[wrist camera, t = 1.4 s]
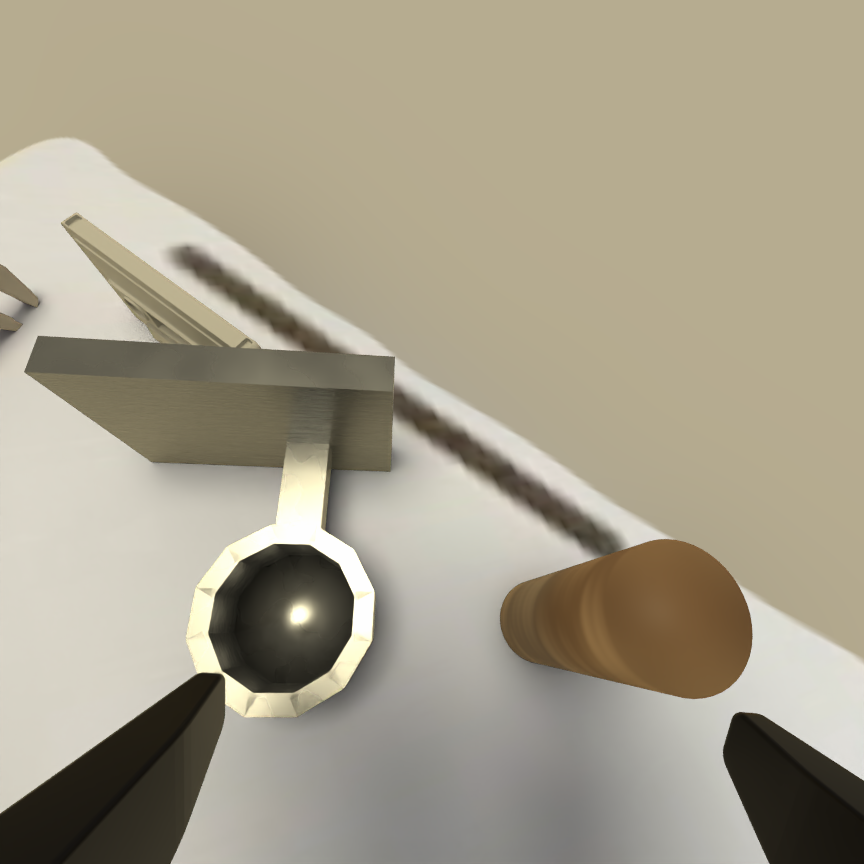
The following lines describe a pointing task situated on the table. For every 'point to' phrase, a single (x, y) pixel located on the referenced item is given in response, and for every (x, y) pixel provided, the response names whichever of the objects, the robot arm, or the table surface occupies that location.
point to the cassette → (153, 293)
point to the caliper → (14, 287)
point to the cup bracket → (298, 503)
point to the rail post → (636, 620)
